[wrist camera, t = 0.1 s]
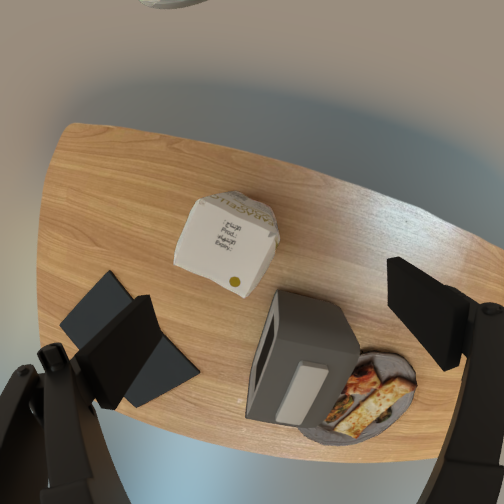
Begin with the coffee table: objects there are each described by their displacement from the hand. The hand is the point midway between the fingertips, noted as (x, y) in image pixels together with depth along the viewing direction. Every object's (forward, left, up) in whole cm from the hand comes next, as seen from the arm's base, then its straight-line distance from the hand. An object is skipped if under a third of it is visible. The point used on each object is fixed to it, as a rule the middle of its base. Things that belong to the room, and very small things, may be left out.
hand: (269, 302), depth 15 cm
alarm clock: (+17, -7, -28) cm, 34 cm away
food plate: (+37, -6, -28) cm, 47 cm away
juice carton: (-3, -2, -28) cm, 28 cm away
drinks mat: (+1, -35, -28) cm, 45 cm away
